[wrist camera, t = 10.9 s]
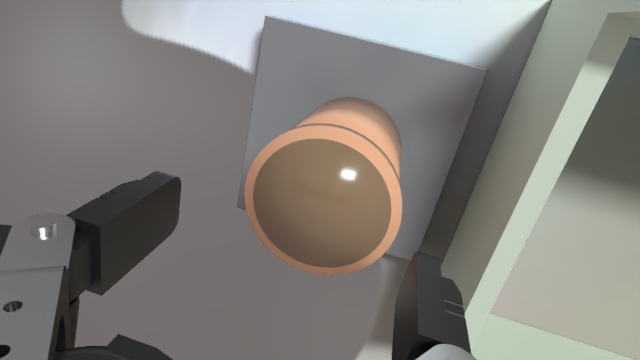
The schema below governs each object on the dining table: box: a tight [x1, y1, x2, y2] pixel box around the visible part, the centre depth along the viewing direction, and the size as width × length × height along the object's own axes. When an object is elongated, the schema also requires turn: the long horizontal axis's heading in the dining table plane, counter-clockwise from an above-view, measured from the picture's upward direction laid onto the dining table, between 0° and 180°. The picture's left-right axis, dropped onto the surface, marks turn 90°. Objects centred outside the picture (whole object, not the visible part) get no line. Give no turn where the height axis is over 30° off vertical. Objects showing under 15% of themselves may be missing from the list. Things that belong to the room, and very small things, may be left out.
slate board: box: [237, 16, 488, 261], centre depth 24 cm, size 12×12×2 cm
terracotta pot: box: [244, 97, 402, 275], centre depth 19 cm, size 6×6×8 cm
